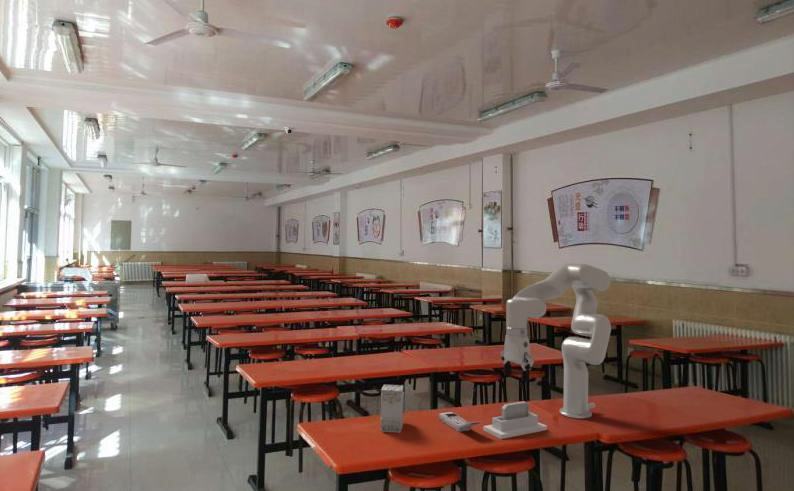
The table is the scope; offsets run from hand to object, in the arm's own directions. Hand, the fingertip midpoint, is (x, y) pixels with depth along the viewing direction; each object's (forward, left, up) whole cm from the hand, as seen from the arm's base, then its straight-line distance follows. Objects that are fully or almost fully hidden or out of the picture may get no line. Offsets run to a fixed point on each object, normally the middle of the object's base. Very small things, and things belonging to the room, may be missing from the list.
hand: (516, 377), depth 189 cm
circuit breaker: (+39, -24, -20) cm, 50 cm away
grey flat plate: (0, 0, -17) cm, 17 cm away
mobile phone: (+18, -12, -20) cm, 29 cm away
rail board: (0, 0, -19) cm, 19 cm away
